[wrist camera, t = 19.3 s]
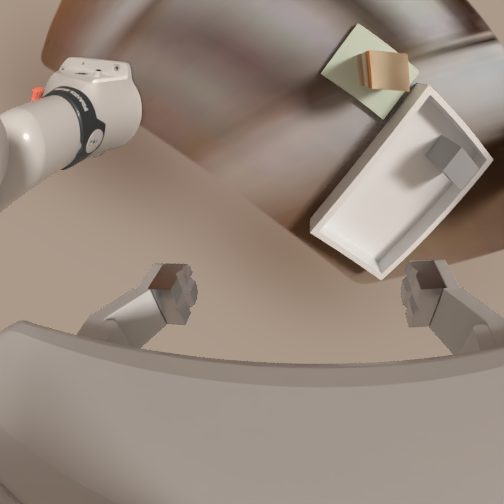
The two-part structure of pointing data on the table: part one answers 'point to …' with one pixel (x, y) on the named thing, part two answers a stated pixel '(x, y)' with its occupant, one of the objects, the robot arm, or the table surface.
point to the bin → (397, 186)
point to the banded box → (383, 70)
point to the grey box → (452, 161)
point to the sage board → (346, 74)
